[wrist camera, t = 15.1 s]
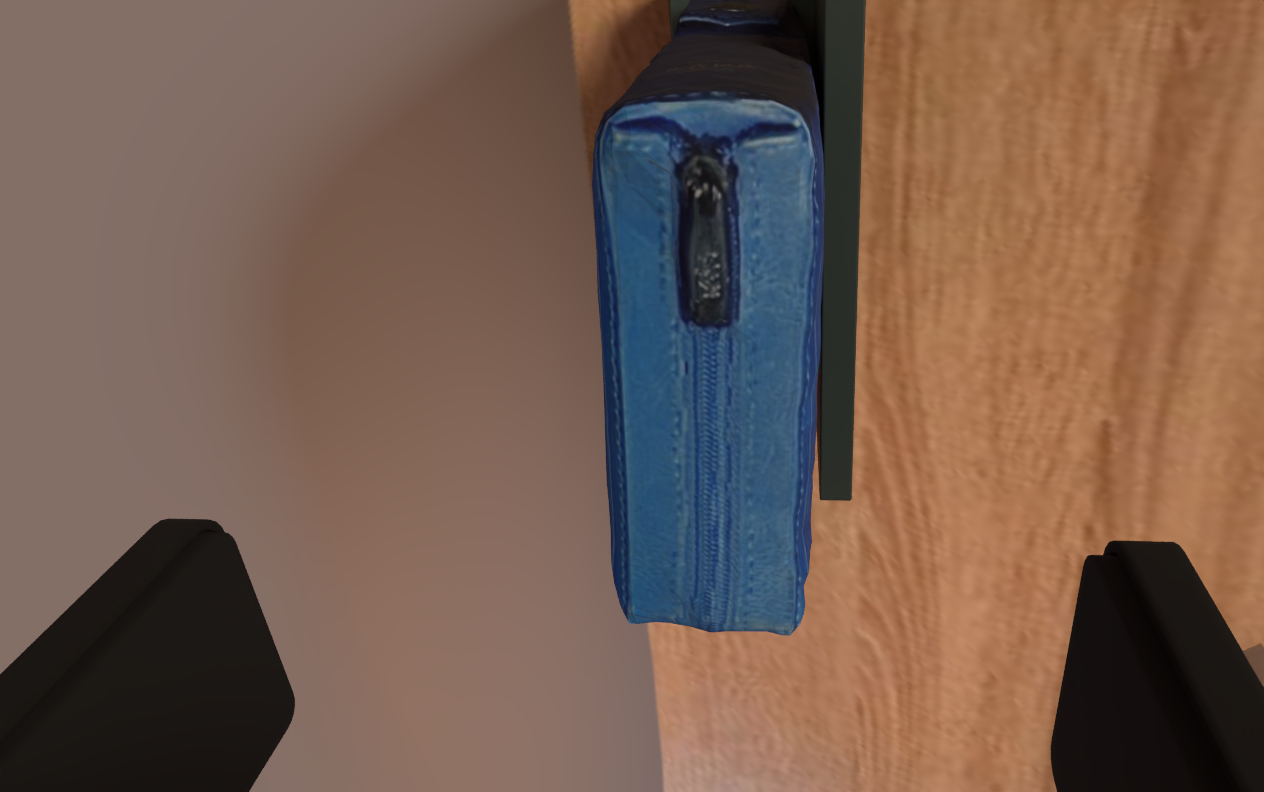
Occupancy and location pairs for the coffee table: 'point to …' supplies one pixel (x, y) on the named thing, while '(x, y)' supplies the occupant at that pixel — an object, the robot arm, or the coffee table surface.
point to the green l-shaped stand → (834, 221)
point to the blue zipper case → (713, 320)
